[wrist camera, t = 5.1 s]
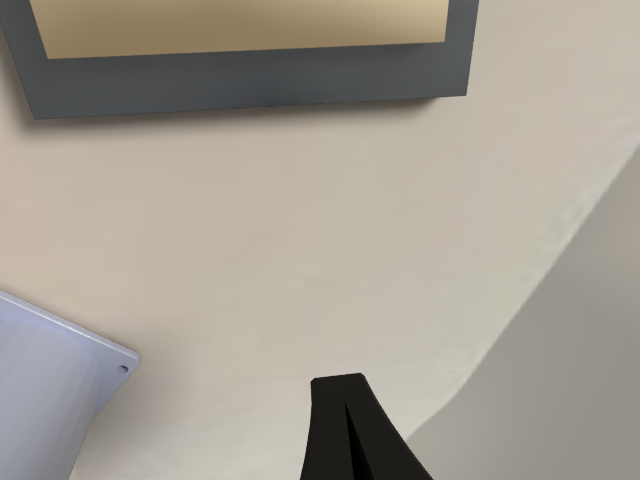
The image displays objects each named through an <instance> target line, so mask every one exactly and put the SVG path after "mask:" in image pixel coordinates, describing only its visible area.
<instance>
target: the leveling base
mask: <svg viewBox="0 0 640 480" xmlns="http://www.w3.org/2000/svg"><path fill="white" fill-rule="evenodd" d="M478 4H479V0H449V4H448V13H447V22H446V31H445V41H444V42H431V43H408V44H385V45H361V46H338V47H315V48H292V49H269V50H245V51H222V52H199V53H176V54H152V55H129V56H106V57H83V58H59V59H48V58H47V54H46V51H45V48H44V45H43V42H42V38H41V35H40V32H39V29H38V26H37V22H36V19H35V16H34V13H33V10H32V6H31V3H30V0H0V21H1V24H2V27H3V30H4V33H5V36H6V39H7V42H8V45H9V48H10V50H11V53H12V56H13V59H14V62H15V65H16V68H17V71H18V74H19V77H20V79H21V82H22V85H23V88H24V91H25V94H26V97H27V100H28V103H29V106H30V109H31V111H32V114H33V117H34V120H37V119H55V118H73V117H91V116H109V115H127V114H145V113H164V112H182V111H200V110H218V109H236V108H254V107H272V106H290V105H309V104H327V103H345V102H363V101H381V100H399V99H417V98H435V97H453V96H466V94H467V86H468V79H469V71H470V64H471V56H472V49H473V41H474V34H475V26H476V19H477V12H478Z"/></svg>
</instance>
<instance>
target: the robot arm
mask: <svg viewBox="0 0 640 480" xmlns="http://www.w3.org/2000/svg"><path fill="white" fill-rule="evenodd" d="M139 362H140V356H139V354H137V353H136V352H134V351H132V350H130V349H128V348H125V347H123V346H121V345H119V344H117V343H115V342H112V341H110V340H108V339H106V338H104V337H102V336H99V335H97V334H95V333H93V332H91V331H88V330H86V329H84V328H82V327H80V326H78V325H75V324H73V323H71V322H69V321H67V320H65V319H62V318H60V317H58V316H56V315H54V314H52V313H49V312H47V311H45V310H43V309H41V308H38V307H36V306H34V305H32V304H30V303H28V302H25V301H23V300H21V299H19V298H17V297H15V296H12V295H10V294H8V293H6V292H4V291H2V290H0V480H69V477H70V475H71V472H72V469H73V467H74V464H75V462H76V459H77V456H78V454H79V451H80V448H81V446H82V443H83V440H84V438H85V435H86V432H87V430H88V427H89V425H90V422H91V420H92V419H93V418H94V417H95V415H96V414H97V413H98V412H99V411H100V410H101V409H102V407H103V406H104V405H105V404H106V403H107V402H108V400H109V399H110V398H111V397H112V396H113V395H114V394H115V392H116V391H117V390H118V389H119V388H120V387H121V385H122V384H123V383H124V382H125V381H126V380H127V379H128V377H129V376H130V375H131V374H132V373H133V372H134V370H135V369H136V368H137V367H138V365H139ZM121 366H126V368H124V367H121ZM311 401H312V406H311V419H310V428H309V434H308V441H307V447H306V453H305V459H304V464H303V468H302V473H301V477H300V480H433V479H432V477H431V476H430V475H429V474H428V472H427V471H426V470H425V468H424V467H423V466H422V465H421V463H420V462H419V461H418V460H417V458H416V457H415V455H414V454H413V453H412V451H411V450H410V449H409V447H408V446H407V444H406V443H405V442H404V440H403V439H402V437H401V436H400V434H399V433H398V431H397V430H396V429H395V427H394V426H393V424H392V423H391V421H390V420H389V418H388V417H387V415H386V413H385V412H384V410H383V409H382V407H381V405H380V404H379V402H378V400H377V399H376V397H375V395H374V393H373V392H372V390H371V388H370V386H369V384H368V382H367V380H366V378H365V376H364V375H363V374H361V373H355V374H346V375H337V376H328V377H320V378H314V379H313V380H312V381H311Z"/></svg>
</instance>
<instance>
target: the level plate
mask: <svg viewBox="0 0 640 480" xmlns="http://www.w3.org/2000/svg"><path fill="white" fill-rule="evenodd" d="M30 3H31V6H32V10H33V13H34V16H35V19H36V22H37V26H38V29H39V32H40V35H41V38H42V42H43V45H44V48H45V51H46V54H47V58H48V59H59V58H83V57H106V56H129V55H152V54H176V53H199V52H222V51H245V50H269V49H292V48H315V47H338V46H361V45H385V44H408V43H431V42H444V41H445V31H446V22H447V13H448V4H449V0H30Z"/></svg>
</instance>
